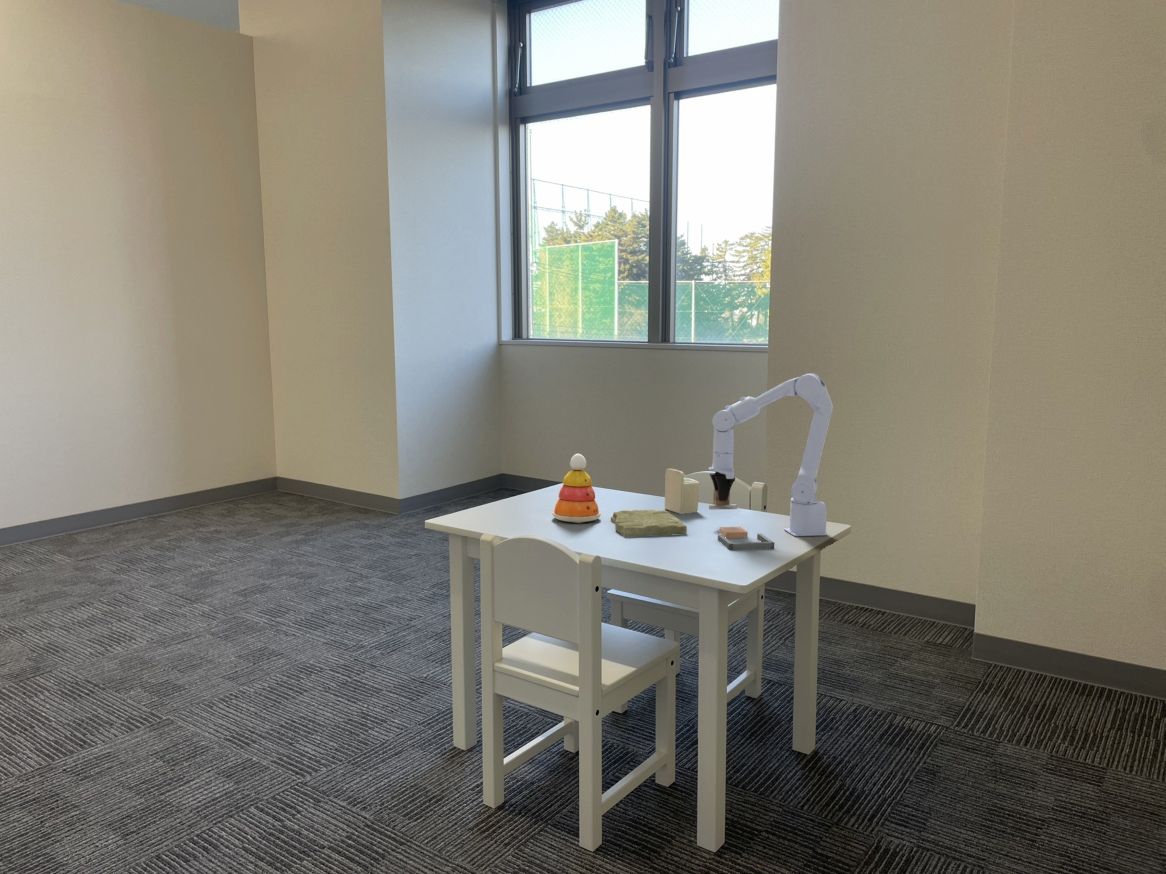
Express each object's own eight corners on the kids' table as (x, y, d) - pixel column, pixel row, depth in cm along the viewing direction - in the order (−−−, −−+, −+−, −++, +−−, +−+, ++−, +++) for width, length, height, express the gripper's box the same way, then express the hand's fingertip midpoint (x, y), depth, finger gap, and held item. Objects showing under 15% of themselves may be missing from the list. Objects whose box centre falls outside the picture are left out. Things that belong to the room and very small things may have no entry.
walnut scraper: (733, 506, 249) (733, 489, 248) (736, 509, 246) (737, 491, 245) (706, 507, 248) (706, 489, 247) (709, 509, 244) (710, 492, 244)
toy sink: (700, 512, 266) (701, 470, 264) (680, 514, 262) (681, 472, 260) (683, 507, 273) (684, 466, 271) (664, 509, 269) (665, 467, 268)
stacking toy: (581, 527, 245) (581, 459, 242) (542, 520, 253) (542, 454, 251) (610, 518, 256) (611, 453, 253) (572, 512, 264) (572, 449, 262)
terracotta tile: (740, 533, 240) (740, 526, 240) (747, 539, 234) (747, 532, 234) (719, 534, 240) (719, 527, 239) (725, 539, 234) (726, 532, 233)
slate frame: (760, 540, 233) (760, 533, 233) (774, 550, 223) (774, 542, 223) (717, 542, 231) (717, 534, 231) (729, 551, 221) (729, 544, 221)
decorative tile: (666, 519, 257) (667, 508, 257) (687, 536, 238) (687, 523, 237) (605, 522, 254) (605, 510, 253) (621, 539, 234) (621, 526, 234)
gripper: (702, 448, 251) (700, 494, 253) (717, 456, 237) (715, 504, 239) (725, 448, 252) (724, 494, 254) (741, 456, 238) (740, 504, 240)
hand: (721, 499), depth 247 cm, fingers closed on walnut scraper, 2 cm apart
